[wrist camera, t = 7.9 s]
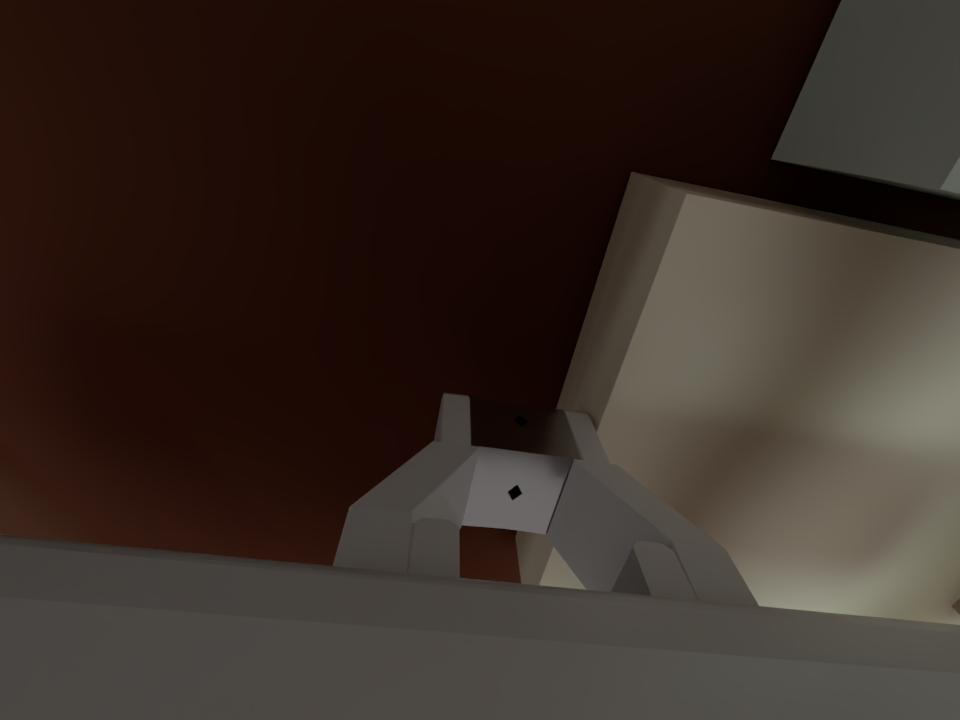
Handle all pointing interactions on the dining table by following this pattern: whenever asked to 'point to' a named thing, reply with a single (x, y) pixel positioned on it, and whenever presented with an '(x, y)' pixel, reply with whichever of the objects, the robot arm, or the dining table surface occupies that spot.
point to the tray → (883, 97)
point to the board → (781, 395)
